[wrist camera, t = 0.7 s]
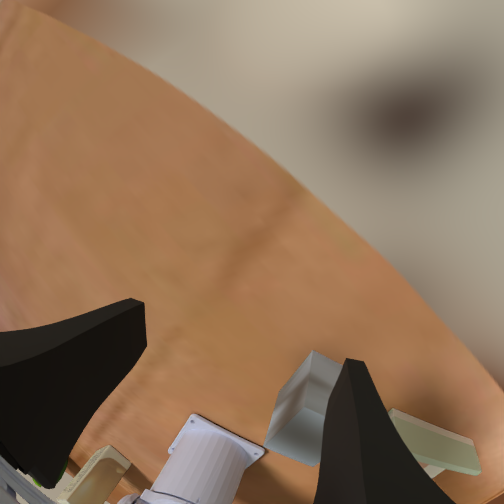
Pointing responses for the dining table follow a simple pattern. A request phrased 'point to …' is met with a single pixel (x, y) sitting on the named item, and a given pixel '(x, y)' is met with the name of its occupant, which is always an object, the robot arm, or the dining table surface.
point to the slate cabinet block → (303, 410)
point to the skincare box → (96, 478)
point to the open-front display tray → (436, 446)
